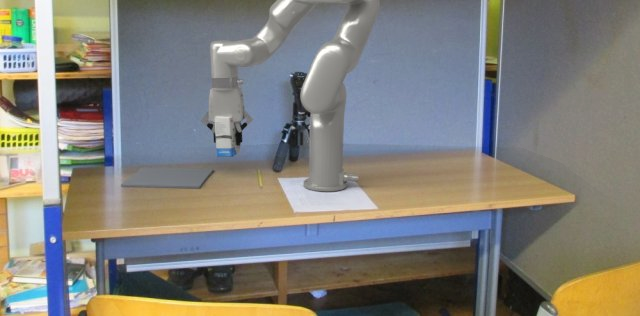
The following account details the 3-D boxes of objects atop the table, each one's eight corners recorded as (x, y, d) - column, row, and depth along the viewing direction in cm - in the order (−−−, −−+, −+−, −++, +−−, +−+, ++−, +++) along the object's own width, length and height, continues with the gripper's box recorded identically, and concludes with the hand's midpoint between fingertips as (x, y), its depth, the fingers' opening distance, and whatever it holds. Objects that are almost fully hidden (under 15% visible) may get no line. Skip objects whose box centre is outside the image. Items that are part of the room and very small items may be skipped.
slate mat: (213, 170, 201) (213, 168, 201) (199, 188, 182) (199, 186, 182) (142, 169, 202) (142, 167, 202) (121, 186, 182) (121, 184, 182)
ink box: (232, 157, 189) (230, 117, 186) (215, 157, 190) (213, 117, 187) (241, 151, 197) (239, 112, 194) (225, 151, 198) (223, 112, 195)
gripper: (256, 81, 192) (258, 142, 196) (198, 82, 193) (202, 142, 197) (252, 84, 185) (255, 147, 189) (192, 85, 185) (196, 148, 189)
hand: (228, 144), depth 193 cm, fingers closed on ink box, 5 cm apart
